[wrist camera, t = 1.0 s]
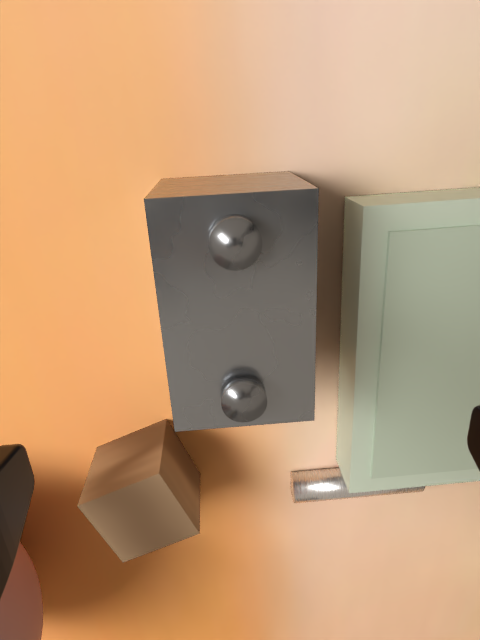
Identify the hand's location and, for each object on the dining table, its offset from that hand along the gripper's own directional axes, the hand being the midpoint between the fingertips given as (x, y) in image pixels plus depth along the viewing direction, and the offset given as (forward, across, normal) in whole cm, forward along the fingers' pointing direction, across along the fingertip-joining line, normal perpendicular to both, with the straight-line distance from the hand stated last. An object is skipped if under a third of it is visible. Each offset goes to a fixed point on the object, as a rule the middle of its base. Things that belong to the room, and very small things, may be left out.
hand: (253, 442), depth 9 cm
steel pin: (+12, -6, +13) cm, 19 cm away
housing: (+12, 0, 0) cm, 12 cm away
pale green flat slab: (+12, -11, +4) cm, 17 cm away
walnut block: (+12, +5, +10) cm, 17 cm away
